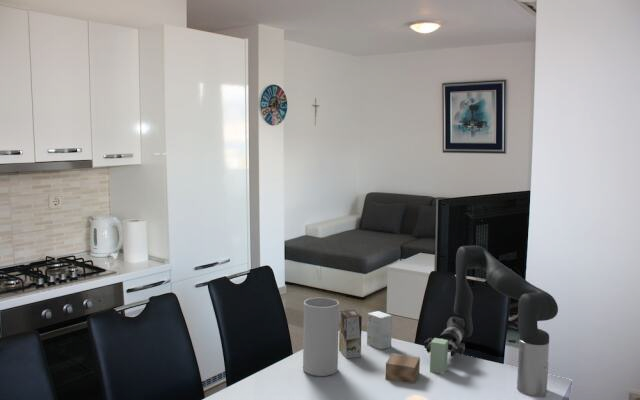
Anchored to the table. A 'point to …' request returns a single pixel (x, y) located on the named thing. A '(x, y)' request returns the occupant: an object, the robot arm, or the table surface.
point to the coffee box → (350, 333)
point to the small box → (379, 329)
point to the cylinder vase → (320, 336)
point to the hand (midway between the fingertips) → (439, 352)
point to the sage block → (438, 355)
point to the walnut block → (402, 368)
